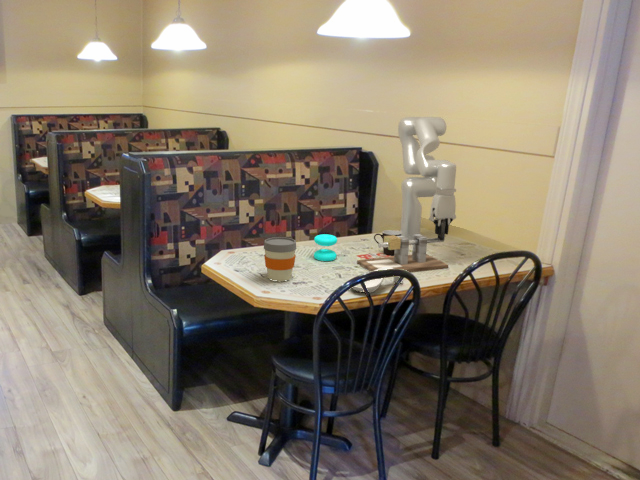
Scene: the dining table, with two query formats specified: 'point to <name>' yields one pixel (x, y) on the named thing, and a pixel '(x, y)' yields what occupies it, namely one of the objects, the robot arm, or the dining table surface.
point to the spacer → (393, 242)
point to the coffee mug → (384, 233)
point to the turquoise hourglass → (325, 253)
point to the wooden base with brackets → (406, 258)
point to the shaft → (429, 240)
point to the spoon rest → (374, 282)
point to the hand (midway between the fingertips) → (441, 233)
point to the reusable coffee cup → (279, 257)
